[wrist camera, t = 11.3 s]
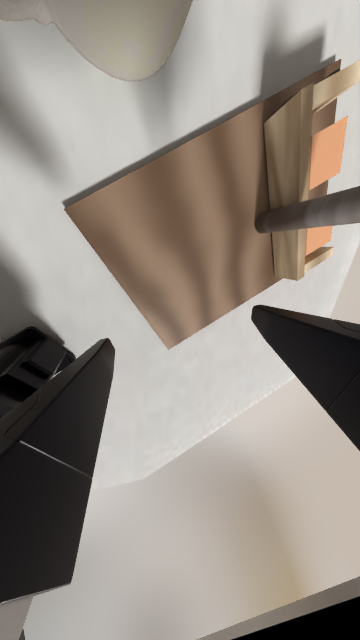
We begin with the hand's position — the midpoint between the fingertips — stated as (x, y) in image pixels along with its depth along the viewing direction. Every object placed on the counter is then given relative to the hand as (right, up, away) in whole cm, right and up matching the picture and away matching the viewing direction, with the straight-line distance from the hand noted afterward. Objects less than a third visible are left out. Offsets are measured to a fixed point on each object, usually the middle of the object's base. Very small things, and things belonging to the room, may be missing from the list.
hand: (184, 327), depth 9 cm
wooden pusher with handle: (+14, +15, +10) cm, 23 cm away
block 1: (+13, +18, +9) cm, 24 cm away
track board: (+7, +11, +10) cm, 17 cm away
